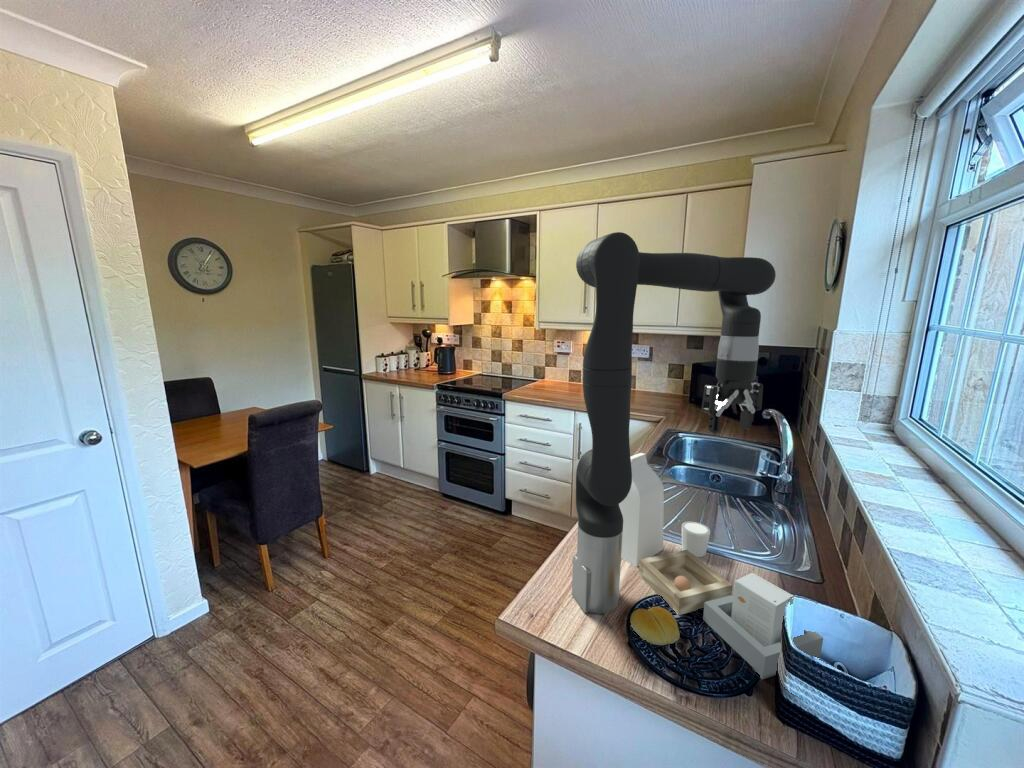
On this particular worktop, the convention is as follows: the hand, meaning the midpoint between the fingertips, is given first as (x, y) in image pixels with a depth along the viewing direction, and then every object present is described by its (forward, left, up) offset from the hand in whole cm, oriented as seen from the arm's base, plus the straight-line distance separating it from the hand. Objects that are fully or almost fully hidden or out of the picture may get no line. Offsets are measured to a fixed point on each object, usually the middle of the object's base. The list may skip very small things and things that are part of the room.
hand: (729, 430), depth 88 cm
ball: (-11, -2, -36) cm, 37 cm away
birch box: (-10, -1, -36) cm, 37 cm away
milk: (-12, +16, -36) cm, 42 cm away
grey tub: (-6, -17, -36) cm, 40 cm away
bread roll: (-23, -9, -37) cm, 44 cm away
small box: (-6, -17, -36) cm, 40 cm away
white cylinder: (+3, +10, -36) cm, 38 cm away
